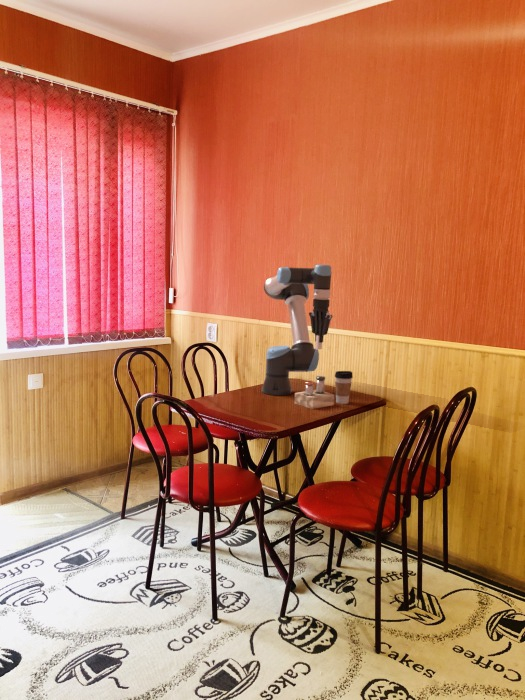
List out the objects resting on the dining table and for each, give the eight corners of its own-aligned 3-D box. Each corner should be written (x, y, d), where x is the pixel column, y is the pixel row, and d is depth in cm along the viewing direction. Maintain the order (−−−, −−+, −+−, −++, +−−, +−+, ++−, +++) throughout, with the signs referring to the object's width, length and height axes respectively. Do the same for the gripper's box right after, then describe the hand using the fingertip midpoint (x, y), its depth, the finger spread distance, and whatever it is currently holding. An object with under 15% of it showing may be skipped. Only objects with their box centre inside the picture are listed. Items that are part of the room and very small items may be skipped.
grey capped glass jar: (313, 395, 269) (314, 376, 268) (319, 394, 272) (320, 375, 271) (319, 397, 266) (320, 378, 265) (326, 396, 269) (327, 377, 268)
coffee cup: (350, 405, 268) (352, 373, 266) (332, 403, 270) (334, 372, 267) (351, 401, 276) (353, 370, 274) (334, 399, 278) (335, 369, 276)
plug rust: (302, 400, 265) (303, 381, 264) (308, 399, 268) (309, 380, 266) (308, 402, 262) (309, 383, 261) (315, 401, 265) (316, 382, 263)
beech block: (294, 403, 268) (294, 392, 267) (315, 399, 276) (316, 389, 276) (312, 408, 258) (312, 398, 258) (333, 404, 267) (334, 394, 267)
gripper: (305, 297, 264) (302, 347, 268) (326, 300, 255) (323, 351, 259) (316, 297, 269) (313, 346, 273) (337, 299, 260) (334, 350, 264)
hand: (318, 349), depth 266 cm, fingers closed
